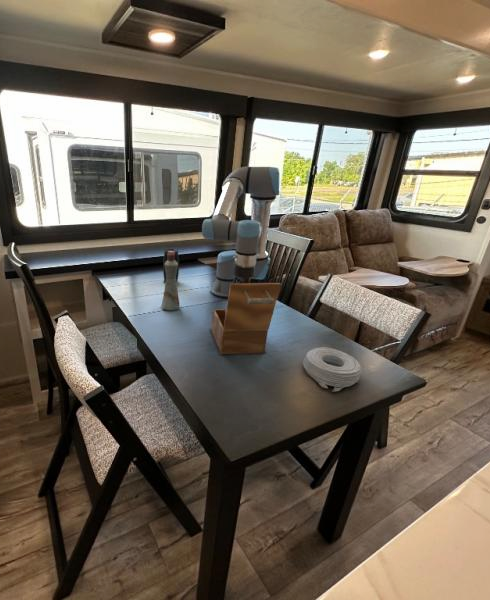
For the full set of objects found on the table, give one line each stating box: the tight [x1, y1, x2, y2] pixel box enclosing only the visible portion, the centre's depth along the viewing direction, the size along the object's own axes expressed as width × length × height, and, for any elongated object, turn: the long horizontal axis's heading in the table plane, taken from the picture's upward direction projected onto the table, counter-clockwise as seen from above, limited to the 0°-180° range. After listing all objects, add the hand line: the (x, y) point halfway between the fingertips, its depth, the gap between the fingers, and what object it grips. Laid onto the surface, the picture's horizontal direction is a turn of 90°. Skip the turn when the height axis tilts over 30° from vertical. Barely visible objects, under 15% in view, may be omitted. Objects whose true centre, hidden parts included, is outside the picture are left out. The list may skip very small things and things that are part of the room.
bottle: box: [161, 252, 180, 312], centre depth 147 cm, size 9×9×28 cm
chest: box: [210, 308, 269, 355], centre depth 122 cm, size 19×17×10 cm
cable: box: [302, 346, 362, 393], centre depth 104 cm, size 18×18×6 cm
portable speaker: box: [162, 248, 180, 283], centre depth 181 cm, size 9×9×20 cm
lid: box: [223, 282, 282, 331], centre depth 103 cm, size 19×17×8 cm
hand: (238, 317), depth 120 cm, fingers open, 13 cm apart
